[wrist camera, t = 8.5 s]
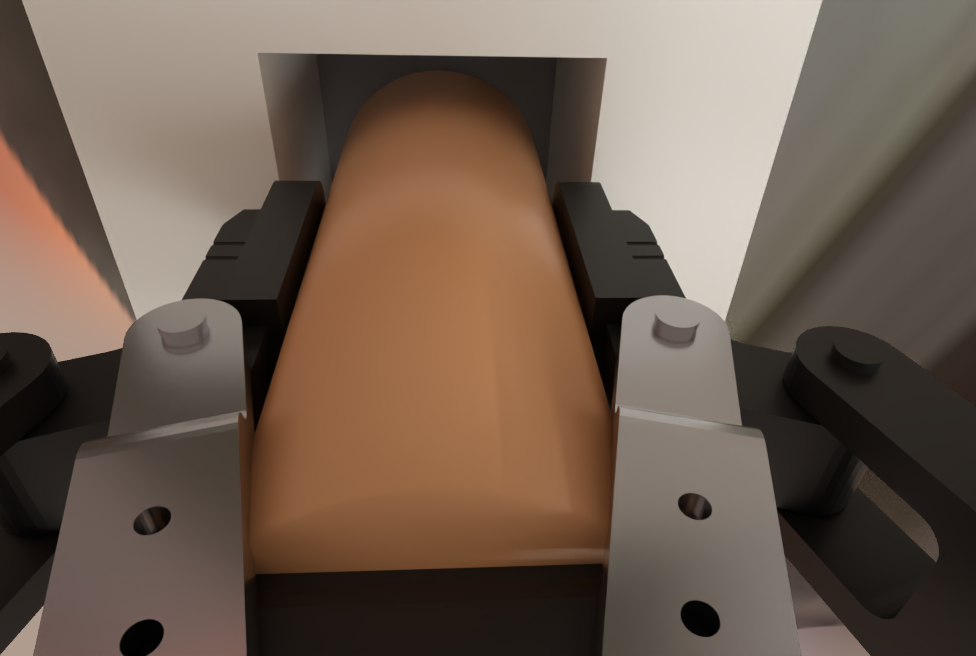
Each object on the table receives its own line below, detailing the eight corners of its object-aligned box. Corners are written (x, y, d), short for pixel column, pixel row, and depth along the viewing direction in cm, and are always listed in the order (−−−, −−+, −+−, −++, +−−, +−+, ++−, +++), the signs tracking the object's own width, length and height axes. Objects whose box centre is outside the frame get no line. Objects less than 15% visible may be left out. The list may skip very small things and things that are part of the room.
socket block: (727, -188, 14) (880, -192, 9) (633, 295, 21) (690, 436, 16) (124, -211, 13) (-61, -229, 8) (243, 297, 20) (182, 445, 15)
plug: (544, 71, 13) (710, 482, 5) (530, 252, 15) (626, 725, 7) (333, 69, 13) (142, 497, 5) (352, 253, 15) (250, 742, 7)
